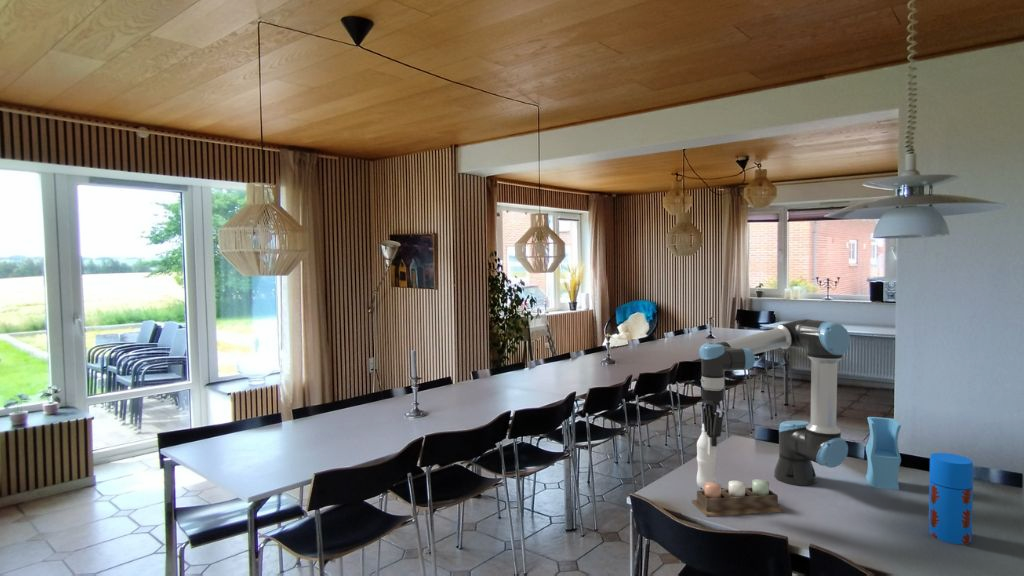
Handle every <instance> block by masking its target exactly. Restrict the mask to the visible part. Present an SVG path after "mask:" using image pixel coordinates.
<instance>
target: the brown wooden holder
mask: <svg viewBox="0 0 1024 576" xmlns="http://www.w3.org/2000/svg"><path fill="white" fill-rule="evenodd" d="M778 497H779V496H778V494H776V493H775V492H773V491H772V490H771V489H769V495H762V496H757V495H755V494H754V493H753V492H752V487H745V497H732V496H730V495H729V488H723V489H722V488H721V498H712V499H708V498H707V497H706V496H705V490H703V489H701V490H696V499H692V500H691V503H692V504H693V505H694V506H695V507H696V508H697V509H698V510H699V511H701V513H703V515H704V516H705V517H718V516H719V517H720V516H735V515H736V516H737V515H750V514H751V513H754V514H766V513H767V514H768V513H769V512H770V513H781V512H784V509H783V508H782V507H781V506H780V505H778V504H779V501H778ZM751 515H752V514H751Z"/></svg>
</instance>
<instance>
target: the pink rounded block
mask: <svg viewBox="0 0 1024 576" xmlns="http://www.w3.org/2000/svg"><path fill="white" fill-rule="evenodd" d="M721 489H722V485H721V484H720V483H719V482H717V481H716V482H706V483H705V496H706V497H707V498H708V499H712V498H721Z"/></svg>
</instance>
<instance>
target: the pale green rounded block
mask: <svg viewBox="0 0 1024 576" xmlns="http://www.w3.org/2000/svg"><path fill="white" fill-rule="evenodd" d="M751 482H752V485H751V486H752V492H753V493H754V494H755V495H757V496H762V495H769V490H770V482H769V481H768V480H765V479H760V478H759V479H758V478H757V479H756V478H755V479H752V480H751Z"/></svg>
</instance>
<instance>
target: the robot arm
mask: <svg viewBox="0 0 1024 576" xmlns="http://www.w3.org/2000/svg"><path fill="white" fill-rule="evenodd" d="M850 344H851V337H850V334H849V332H848V330H847V328H845V327H844V326H843V325H842V324H840V323H838V322H833V321H831V320H830V321H828V320H827V321H826V320H825V321H824V320H818V319H817V320H815V319H808V318H804V319H797V320H794V321H788V322H786V323H782V324H781V323H780V324H778V325H775V327H773V329H769V330H765V331H761V332H757V333H752V334H749V335H745V336H742V337H741V336H740V337H737V338H733V339H730V340H725V341H721V342H720V341H719V342H716V343H713V342H705V343H703V344H702V345H700V348H699V350H698V355H699V358H700V360H701V379H700V383H701V387H702V388H701V389H700V390H701V394H700V395H701V399H702V400H704V403H702V404H701V409H702V416H703V417H702V418H703V423H704V430H705V432H707V435H708V454H709V455H716V456H717V455H718V438H720V437H721V435H722V428H723V421H724V420H723V418H724V415H725V412H724V411H722V410H721V403H720V402H722V401H724V399H725V390H724V388H725V372H727V371H745V370H749V369H752V368H753V367H754V366H755V362H756V361H755V359H756V357H755V355H757V354H761V353H764V352H769V351H773V350H777V349H783V350H786V349H793V348H794V349H804V350H806V357H807V358H808V359H809V360H810V361H811V362H810V363H811V367H810V368H811V369H810V370H811V372H810V374H811V375H810V376H811V377H810V378H811V379H810V421H806V420H786V421H782V422H781V423H780V424H779V427H778V428H779V429H778V460H777V463H776V465H775V468H774V470H773V471H774V472H773V473H774V474H773V475H774V478H775V479H776V480H778V481H780V482H783V483H786V484H789V485H796V486H811V485H814V484H816V483H817V474H816V472H815V468H814V465H813V463H816V464H818V465H819V466H824V467H827V468H829V469H830V468H837V467H839V466H840V465H842V463H844V462H845V460H846V458H847V456H848V453H849V446H848V443H847V441H846V440H844V438H842V437H841V436H842V432H841V431H842V430H841V429H840V428H839V427H838V426H837V407H838V405H837V404H838V403H837V398H838V394H837V393H838V363H839V362H840V361H841V360H842V359H843V355H844V354H846V353H847V351H848V349H849V348H850Z"/></svg>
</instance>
